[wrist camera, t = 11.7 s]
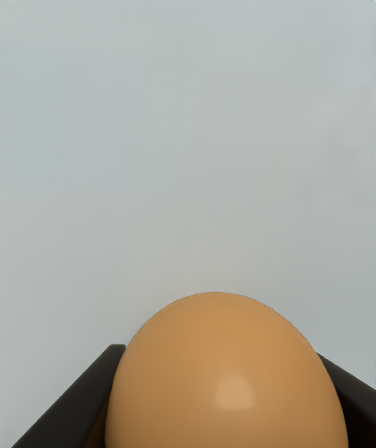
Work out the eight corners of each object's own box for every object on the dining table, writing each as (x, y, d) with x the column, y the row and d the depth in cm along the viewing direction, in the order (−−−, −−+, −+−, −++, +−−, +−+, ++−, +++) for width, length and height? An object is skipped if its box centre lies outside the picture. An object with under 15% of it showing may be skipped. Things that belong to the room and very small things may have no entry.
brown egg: (125, 396, 8) (67, 714, 3) (127, 259, 7) (46, 447, 2) (265, 393, 9) (385, 668, 4) (287, 264, 8) (493, 430, 3)
